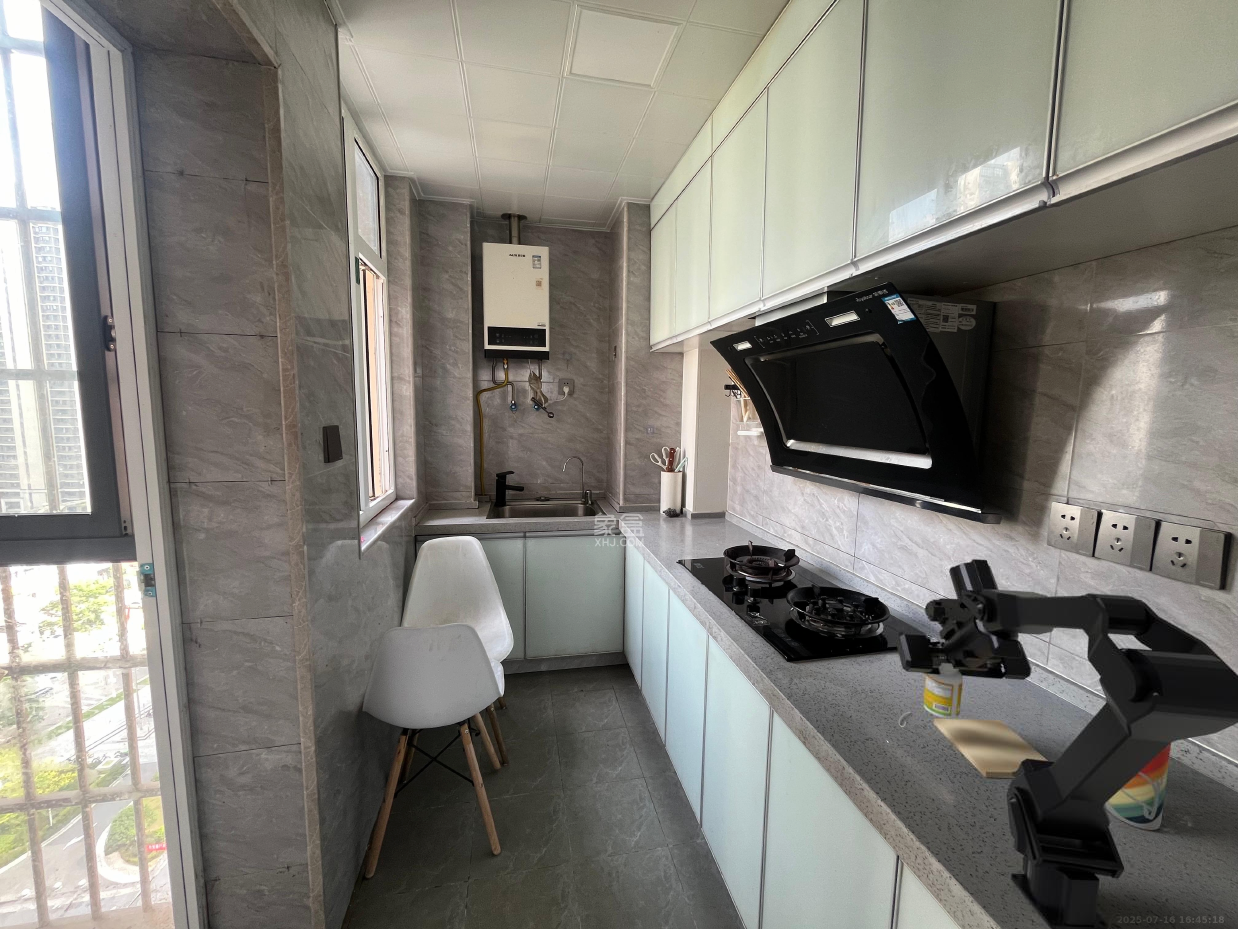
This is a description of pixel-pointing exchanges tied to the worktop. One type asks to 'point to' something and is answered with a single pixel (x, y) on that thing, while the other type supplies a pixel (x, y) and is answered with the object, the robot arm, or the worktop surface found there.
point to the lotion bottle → (1143, 795)
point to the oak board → (988, 745)
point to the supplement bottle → (944, 692)
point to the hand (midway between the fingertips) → (940, 671)
